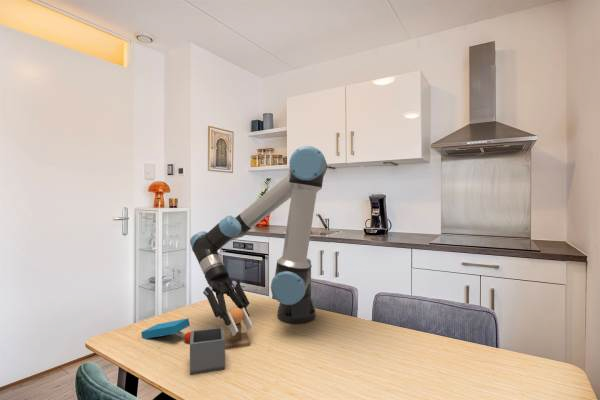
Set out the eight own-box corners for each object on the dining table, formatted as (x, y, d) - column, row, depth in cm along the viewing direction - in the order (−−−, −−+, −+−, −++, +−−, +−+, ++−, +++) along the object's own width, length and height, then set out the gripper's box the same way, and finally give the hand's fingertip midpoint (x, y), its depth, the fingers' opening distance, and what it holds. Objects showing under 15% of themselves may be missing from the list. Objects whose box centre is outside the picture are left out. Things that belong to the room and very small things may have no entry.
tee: (246, 335, 105) (246, 317, 105) (250, 345, 97) (250, 326, 97) (222, 338, 103) (222, 320, 103) (224, 349, 95) (224, 329, 95)
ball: (242, 319, 103) (242, 304, 103) (244, 325, 98) (244, 309, 98) (227, 321, 102) (227, 306, 102) (228, 327, 97) (228, 311, 97)
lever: (145, 353, 102) (187, 346, 96) (141, 332, 103) (182, 324, 97) (161, 344, 109) (201, 337, 103) (157, 324, 110) (197, 316, 104)
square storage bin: (222, 353, 93) (222, 326, 93) (224, 369, 84) (224, 339, 84) (191, 358, 90) (191, 330, 90) (189, 374, 81) (189, 344, 81)
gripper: (231, 272, 117) (259, 327, 106) (186, 281, 104) (213, 346, 93) (239, 260, 113) (269, 316, 102) (194, 268, 100) (223, 333, 89)
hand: (243, 330), depth 98 cm, fingers closed on ball, 5 cm apart
